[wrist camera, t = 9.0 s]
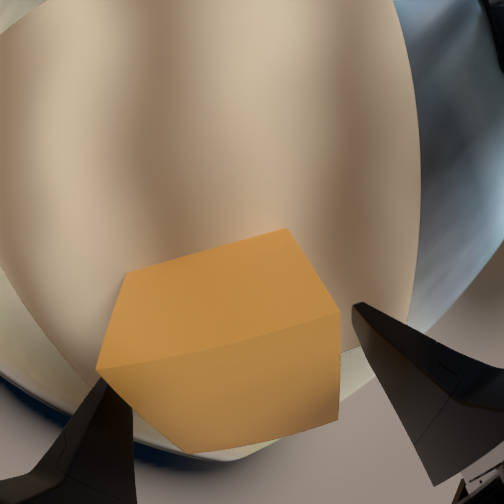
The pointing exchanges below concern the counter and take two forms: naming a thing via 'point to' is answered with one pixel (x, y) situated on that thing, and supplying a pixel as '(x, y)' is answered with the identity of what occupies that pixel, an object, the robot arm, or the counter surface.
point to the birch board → (203, 149)
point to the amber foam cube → (227, 345)
